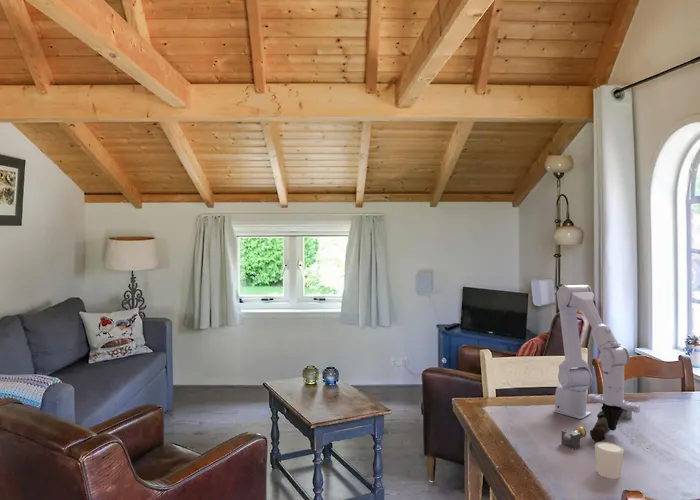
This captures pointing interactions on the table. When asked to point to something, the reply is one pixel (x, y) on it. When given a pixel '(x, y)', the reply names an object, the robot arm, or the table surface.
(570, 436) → the grey metal fitting
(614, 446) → the cream cylinder
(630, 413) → the grey block with knob
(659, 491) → the table surface
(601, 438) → the hand tool
